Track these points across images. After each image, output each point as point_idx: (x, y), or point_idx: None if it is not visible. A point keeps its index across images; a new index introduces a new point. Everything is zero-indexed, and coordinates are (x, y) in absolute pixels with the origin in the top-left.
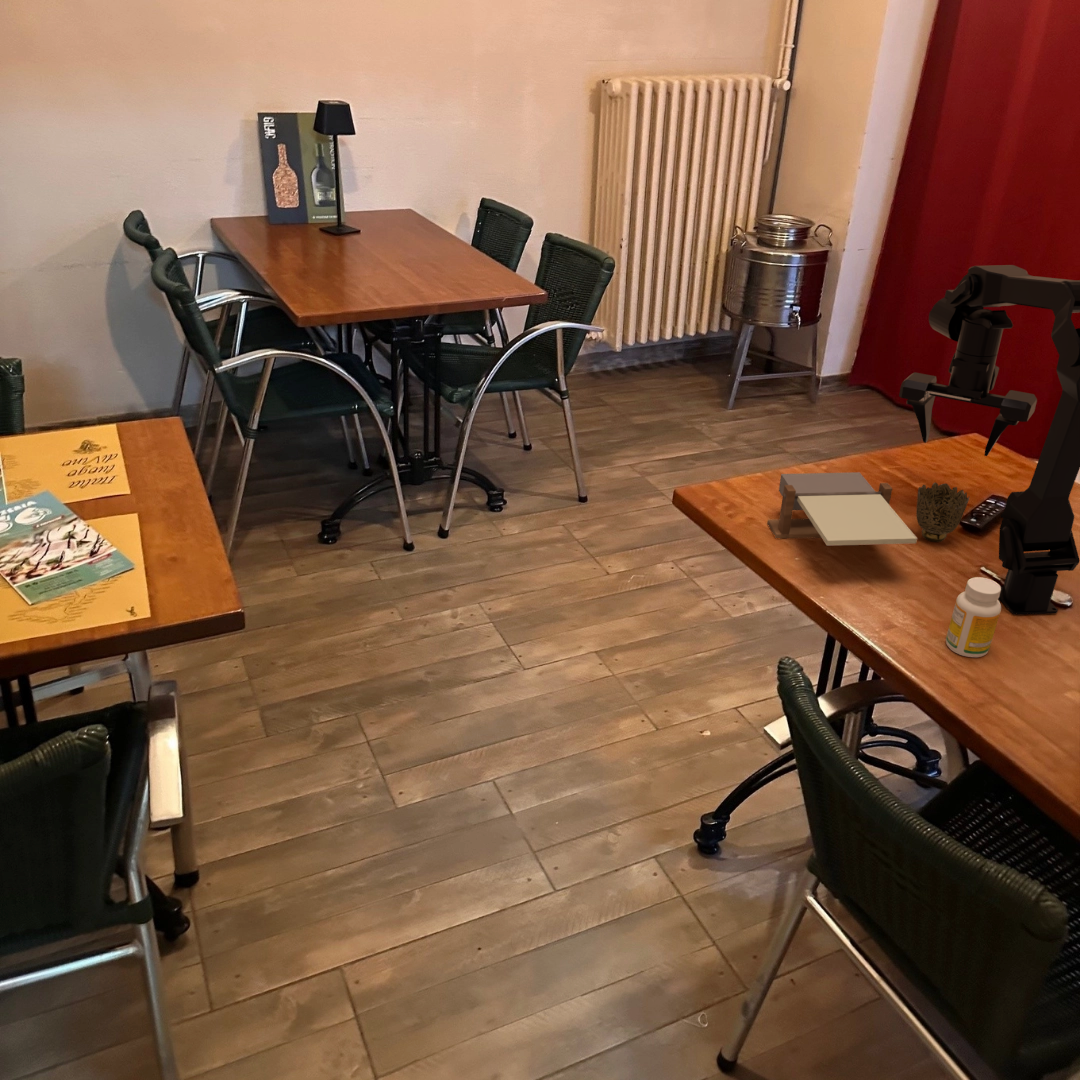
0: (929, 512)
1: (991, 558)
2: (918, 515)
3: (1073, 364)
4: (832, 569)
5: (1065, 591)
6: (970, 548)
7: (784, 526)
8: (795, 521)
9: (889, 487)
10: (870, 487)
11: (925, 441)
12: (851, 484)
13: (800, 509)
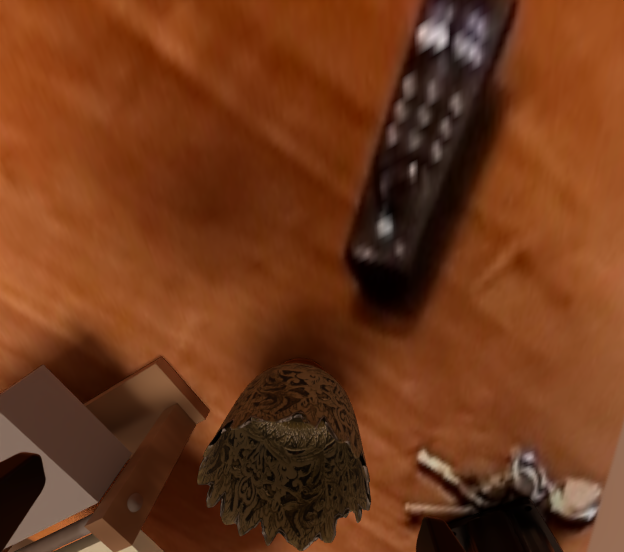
0: (270, 497)
1: (440, 410)
2: (246, 450)
3: None
4: (170, 548)
5: (595, 476)
6: (391, 387)
7: None
8: None
9: (121, 542)
10: (74, 486)
11: (35, 499)
12: None
13: None
